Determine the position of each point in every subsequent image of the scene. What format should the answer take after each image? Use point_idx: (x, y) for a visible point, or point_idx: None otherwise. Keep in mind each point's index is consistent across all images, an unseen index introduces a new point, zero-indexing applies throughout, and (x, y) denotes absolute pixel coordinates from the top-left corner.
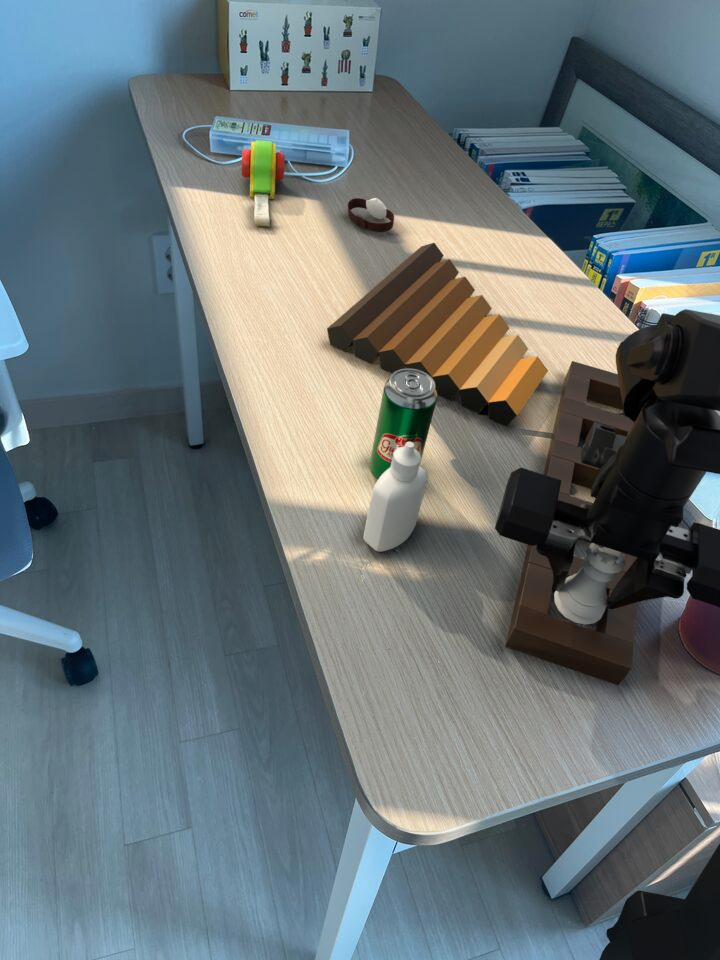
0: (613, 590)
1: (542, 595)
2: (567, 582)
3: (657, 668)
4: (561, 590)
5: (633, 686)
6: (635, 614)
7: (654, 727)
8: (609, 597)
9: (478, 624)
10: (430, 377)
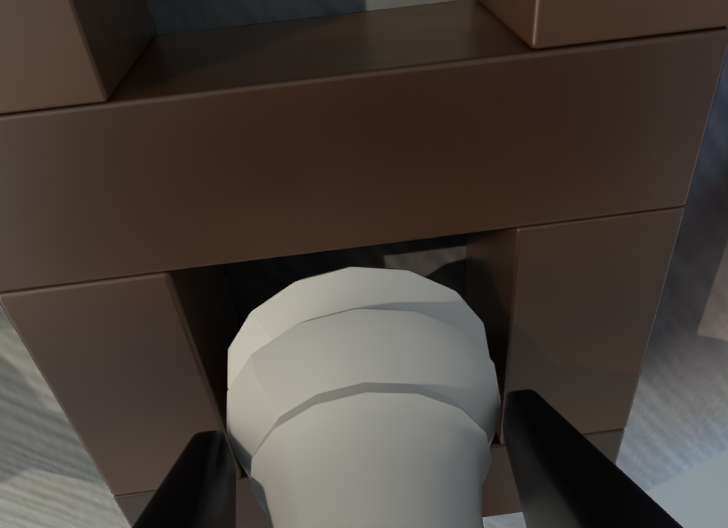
0: (531, 457)
1: (179, 426)
2: (252, 488)
3: (706, 287)
4: (246, 469)
5: None
6: (654, 310)
7: (656, 443)
8: (510, 408)
9: (50, 426)
10: None
